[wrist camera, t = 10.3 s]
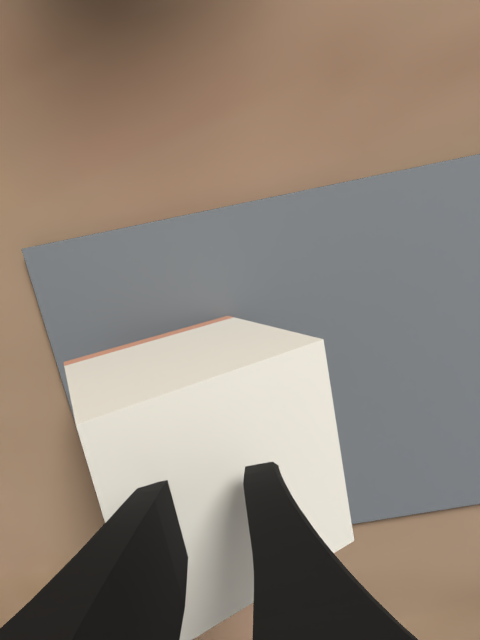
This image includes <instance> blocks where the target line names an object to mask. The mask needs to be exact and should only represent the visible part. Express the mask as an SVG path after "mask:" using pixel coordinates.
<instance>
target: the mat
mask: <svg viewBox="0 0 480 640" xmlns="http://www.w3.org/2000/svg"><path fill="white" fill-rule="evenodd" d="M22 253H23V256H24V259H25V262H26V266H27V269H28V272H29V275H30V278H31V282H32V285H33V288H34V291H35V295H36V298H37V301H38V304H39V308H40V311H41V314H42V317H43V321H44V324H45V327H46V330H47V334H48V337H49V340H50V343H51V347H52V350H53V353H54V356H55V360H56V363H57V366H58V369H59V373H60V376H61V379H62V382H63V385H64V389H65V392H66V395H67V398H68V402H69V405H70V408H71V411H72V415H73V418H74V413H73V408H72V403H71V398H70V393H69V388H68V383H67V378H66V373H65V368H64V363H63V362H65V361H69V360H73V359H76V358H80V357H83V356H87V355H90V354H94V353H97V352H101V351H104V350H108V349H111V348H115V347H119V346H122V345H126V344H129V343H133V342H136V341H140V340H143V339H147V338H150V337H154V336H157V335H161V334H165V333H168V332H172V331H175V330H179V329H182V328H186V327H189V326H193V325H196V324H200V323H203V322H207V321H211V320H214V319H218V318H221V317H225V316H231V317H235V318H239V319H243V320H247V321H251V322H255V323H259V324H264V325H268V326H272V327H276V328H280V329H284V330H288V331H292V332H296V333H300V334H304V335H308V336H312V337H316V338H320V339H324V346H325V352H326V359H327V365H328V372H329V379H330V385H331V392H332V398H333V405H334V411H335V418H336V424H337V431H338V438H339V444H340V451H341V457H342V464H343V470H344V477H345V484H346V490H347V497H348V503H349V510H350V516H351V523H352V524H356V523H362V522H369V521H375V520H381V519H387V518H394V517H400V516H406V515H413V514H419V513H425V512H432V511H438V510H444V509H451V508H457V507H463V506H469V505H476V504H480V154H477V155H473V156H468V157H463V158H458V159H453V160H448V161H444V162H439V163H434V164H429V165H424V166H420V167H415V168H410V169H405V170H400V171H395V172H391V173H386V174H381V175H376V176H371V177H367V178H362V179H357V180H352V181H347V182H342V183H338V184H333V185H328V186H323V187H318V188H314V189H309V190H304V191H299V192H294V193H289V194H285V195H280V196H275V197H270V198H265V199H261V200H256V201H251V202H246V203H241V204H236V205H232V206H227V207H222V208H217V209H212V210H208V211H203V212H198V213H193V214H188V215H183V216H179V217H174V218H169V219H164V220H159V221H155V222H150V223H145V224H140V225H135V226H130V227H126V228H121V229H116V230H111V231H106V232H102V233H97V234H92V235H87V236H82V237H77V238H73V239H68V240H63V241H58V242H53V243H49V244H44V245H39V246H34V247H29V248H25V249H22ZM74 421H75V418H74ZM75 424H76V423H75ZM76 428H77V427H76ZM77 431H78V430H77ZM80 441H81V440H80Z"/></svg>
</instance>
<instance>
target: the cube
mask: <svg viewBox="0 0 480 640" xmlns="http://www.w3.org/2000/svg"><path fill="white" fill-rule="evenodd" d="M63 363H64V368H65V373H66V378H67V383H68V388H69V393H70V398H71V403H72V408H73V413H74V418H75V423H76V427H77V430H78V434H79V437H80V440H81V444H82V447H83V450H84V454H85V457H86V460H87V464H88V467H89V470H90V474H91V477H92V480H93V484H94V487H95V491H96V494H97V497H98V501H99V504H100V507H101V511H102V514H103V517H104V521H105V523H106V522H107V521H108V520H109V518H110V517H111V516H112V515H113V514H114V513H115V512H116V511H117V510H118V509H119V507H120V506H121V505H122V504H123V503H124V502H125V501H126V500H127V499H128V498H129V496H130V495H131V494H132V493H133V492H134V491H135V490H136V489H137V488H140V487H144V486H147V485H150V484H153V483H156V482H160V481H166V480H168V484H169V488H170V491H171V495H172V499H173V502H174V506H175V510H176V514H177V517H178V521H179V525H180V528H181V532H182V536H183V540H184V543H185V547H186V551H187V555H188V570H187V587H186V600H185V610H184V616H183V622H182V628H181V633H180V639H179V640H193V639H194V638H196V637H197V636H199V635H201V634H202V633H204V632H206V631H207V630H209V629H211V628H212V627H214V626H215V625H217V624H219V623H220V622H222V621H224V620H225V619H227V618H229V617H230V616H232V615H233V614H235V613H237V612H238V611H240V610H242V609H243V608H245V607H247V606H248V605H250V604H251V603H253V602H254V568H253V554H252V547H251V539H250V532H249V525H248V517H247V510H246V502H245V495H244V487H243V480H244V472H245V466H251V465H256V464H262V463H267V462H274V463H275V464H277V465H278V466H279V470H280V473H281V475H282V478H283V480H284V482H285V484H286V486H287V488H288V489H289V491H290V493H291V495H292V497H293V498H294V500H295V501H296V503H297V505H298V506H299V508H300V509H301V511H302V512H303V513H304V515H305V516H306V518H307V519H308V521H309V522H310V524H311V525H312V526H313V528H314V529H315V530H316V532H317V533H318V534H319V536H320V537H321V538H322V540H323V541H324V542H325V543H326V545H327V546H328V547H329V548H330V550H331V551H332V552H333V553H335V552H336V551H338V550H340V549H341V548H343V547H345V546H346V545H348V544H350V543H351V542H353V541H354V536H353V530H352V523H351V516H350V510H349V503H348V497H347V490H346V484H345V477H344V470H343V464H342V457H341V451H340V444H339V438H338V431H337V424H336V418H335V411H334V405H333V398H332V392H331V385H330V379H329V372H328V365H327V359H326V352H325V346H324V339H320V338H316V337H312V336H308V335H304V334H300V333H296V332H292V331H288V330H284V329H280V328H276V327H272V326H268V325H264V324H259V323H255V322H251V321H247V320H243V319H239V318H235V317H231V316H225V317H221V318H218V319H214V320H211V321H207V322H203V323H200V324H196V325H193V326H189V327H186V328H182V329H179V330H175V331H172V332H168V333H165V334H161V335H157V336H154V337H150V338H147V339H143V340H140V341H136V342H133V343H129V344H126V345H122V346H119V347H115V348H111V349H108V350H104V351H101V352H97V353H94V354H90V355H87V356H83V357H80V358H76V359H73V360H69V361H65V362H63Z"/></svg>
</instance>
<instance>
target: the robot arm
mask: <svg viewBox="0 0 480 640" xmlns="http://www.w3.org/2000/svg"><path fill="white" fill-rule="evenodd" d="M243 487H244V495H245V502H246V510H247V517H248V525H249V532H250V539H251V547H252V554H253V568H254V611H253V640H418V639H417V638H416V637H415V636H413V635H412V634H411V633H410V632H409V631H408V630H407V629H405V628H404V627H403V626H402V625H401V624H400V623H399V622H398V621H397V620H396V619H395V618H394V617H393V616H392V615H391V614H390V613H389V612H388V611H387V610H386V609H385V608H384V607H383V606H382V605H381V604H380V603H379V602H378V601H377V600H375V599H374V598H373V597H372V595H371V594H370V593H369V592H368V591H367V590H366V589H365V588H364V587H363V586H362V585H361V584H360V583H359V582H358V581H357V580H356V579H355V577H354V576H353V575H352V574H351V573H350V572H349V571H348V570H347V569H346V567H345V566H344V565H343V564H342V563H341V562H340V560H339V559H338V558H337V557H336V556H335V555H334V553H333V552H332V551H331V550H330V548H329V547H328V546H327V545H326V543H325V542H324V541H323V540H322V538H321V537H320V536H319V534H318V533H317V532H316V530H315V529H314V528H313V526H312V525H311V524H310V522H309V521H308V519H307V518H306V516H305V515H304V513H303V512H302V511H301V509H300V508H299V506H298V505H297V503H296V501H295V500H294V498H293V497H292V495H291V493H290V491H289V489H288V488H287V486H286V484H285V482H284V480H283V478H282V475H281V473H280V470H279V466H278V465H277V464H275V463H274V462H267V463H262V464H256V465H251V466H245V472H244V480H243ZM187 570H188V555H187V551H186V547H185V543H184V540H183V536H182V532H181V528H180V525H179V521H178V517H177V514H176V510H175V506H174V502H173V499H172V495H171V491H170V488H169V484H168V480H166V481H160V482H156V483H153V484H150V485H147V486H144V487H140V488H137V489H136V490H135V491H134V492H133V493H132V494H131V495H130V496H129V498H128V499H127V500H126V501H125V502H124V503H123V504H122V505H121V506H120V507H119V509H118V510H117V511H116V512H115V513H114V514H113V515H112V516H111V517H110V518H109V520H108V521H107V522H106V523H105V524H104V525H103V526H102V527H101V528H100V529H99V531H98V532H97V533H96V534H95V535H94V536H93V537H92V538H91V539H90V540H89V541H88V542H87V544H86V545H85V546H84V547H83V548H82V549H81V550H80V551H79V552H78V553H77V554H76V555H75V556H74V557H73V558H72V559H71V560H70V561H69V562H68V563H67V564H66V565H65V567H64V568H63V569H62V570H61V571H60V572H59V573H58V574H57V575H56V576H55V577H54V578H53V579H52V580H51V581H50V582H49V583H48V584H47V585H46V586H45V587H44V588H43V589H42V590H41V591H40V592H39V593H38V594H37V595H36V596H35V597H34V598H33V599H32V600H31V601H30V602H29V603H27V604H26V605H25V606H24V607H23V608H22V609H21V610H20V611H19V612H18V613H17V614H16V615H15V616H14V617H13V618H11V619H10V620H9V621H8V622H7V623H6V624H5V625H4V626H3V627H2V628H0V640H179V639H180V633H181V628H182V622H183V616H184V610H185V600H186V587H187Z"/></svg>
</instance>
